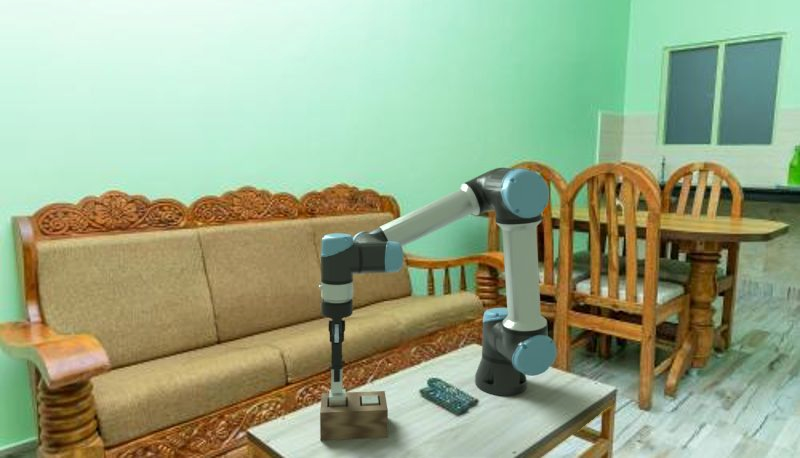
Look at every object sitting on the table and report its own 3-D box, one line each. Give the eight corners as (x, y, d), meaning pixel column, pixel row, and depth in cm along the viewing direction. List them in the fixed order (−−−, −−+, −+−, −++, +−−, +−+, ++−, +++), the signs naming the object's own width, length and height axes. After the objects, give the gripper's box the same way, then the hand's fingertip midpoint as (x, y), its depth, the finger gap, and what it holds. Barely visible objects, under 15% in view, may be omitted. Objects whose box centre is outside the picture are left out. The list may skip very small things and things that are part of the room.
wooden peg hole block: (384, 416, 135) (384, 391, 134) (387, 437, 125) (387, 410, 124) (322, 418, 133) (321, 393, 132) (320, 440, 123) (320, 412, 122)
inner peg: (377, 418, 132) (377, 395, 131) (378, 426, 128) (378, 402, 127) (361, 418, 131) (361, 395, 130) (362, 427, 127) (362, 403, 126)
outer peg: (345, 412, 130) (345, 388, 130) (345, 420, 126) (345, 396, 126) (329, 412, 130) (329, 389, 129) (329, 420, 126) (329, 396, 125)
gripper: (322, 291, 130) (322, 380, 133) (319, 306, 117) (320, 405, 120) (352, 291, 131) (351, 380, 134) (353, 306, 118) (352, 404, 121)
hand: (336, 391), depth 127 cm, fingers closed
